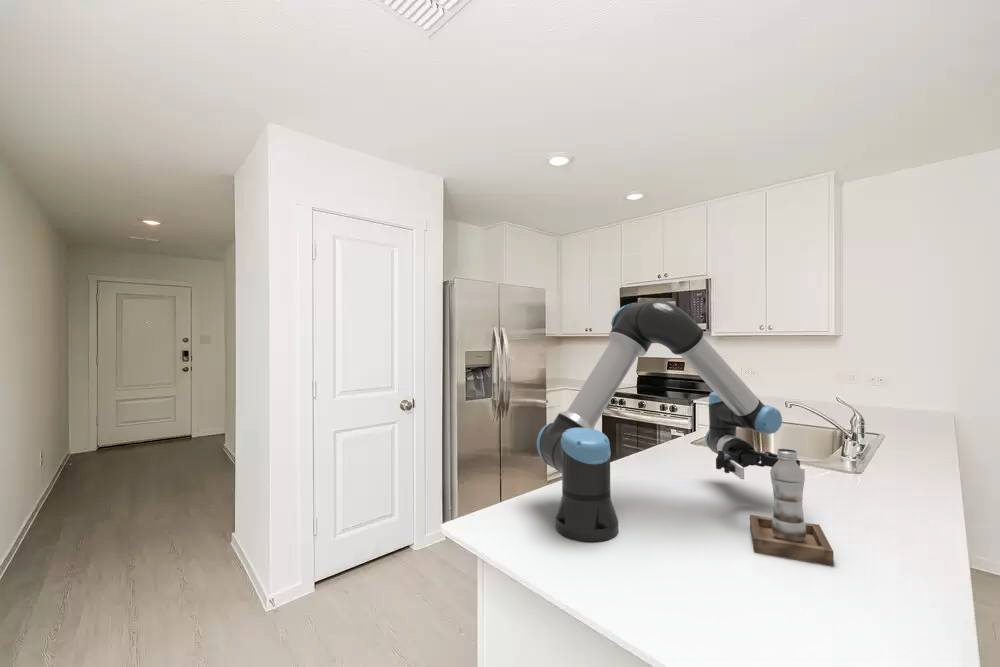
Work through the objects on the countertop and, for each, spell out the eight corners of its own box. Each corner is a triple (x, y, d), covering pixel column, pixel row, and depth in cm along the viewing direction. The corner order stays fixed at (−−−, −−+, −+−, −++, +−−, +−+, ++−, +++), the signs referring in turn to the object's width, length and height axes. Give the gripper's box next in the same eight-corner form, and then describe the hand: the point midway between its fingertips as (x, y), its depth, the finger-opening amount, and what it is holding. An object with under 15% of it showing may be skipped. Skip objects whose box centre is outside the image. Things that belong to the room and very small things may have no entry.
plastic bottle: (813, 546, 96) (812, 454, 96) (782, 547, 96) (780, 454, 97) (794, 533, 103) (793, 446, 103) (765, 533, 103) (763, 447, 103)
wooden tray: (754, 552, 96) (753, 538, 96) (749, 527, 109) (749, 514, 109) (833, 566, 90) (833, 551, 90) (819, 537, 103) (819, 524, 103)
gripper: (782, 465, 126) (829, 491, 105) (690, 463, 129) (718, 488, 108) (782, 438, 126) (828, 459, 105) (690, 437, 129) (717, 457, 108)
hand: (772, 474), depth 106 cm, fingers open, 13 cm apart
